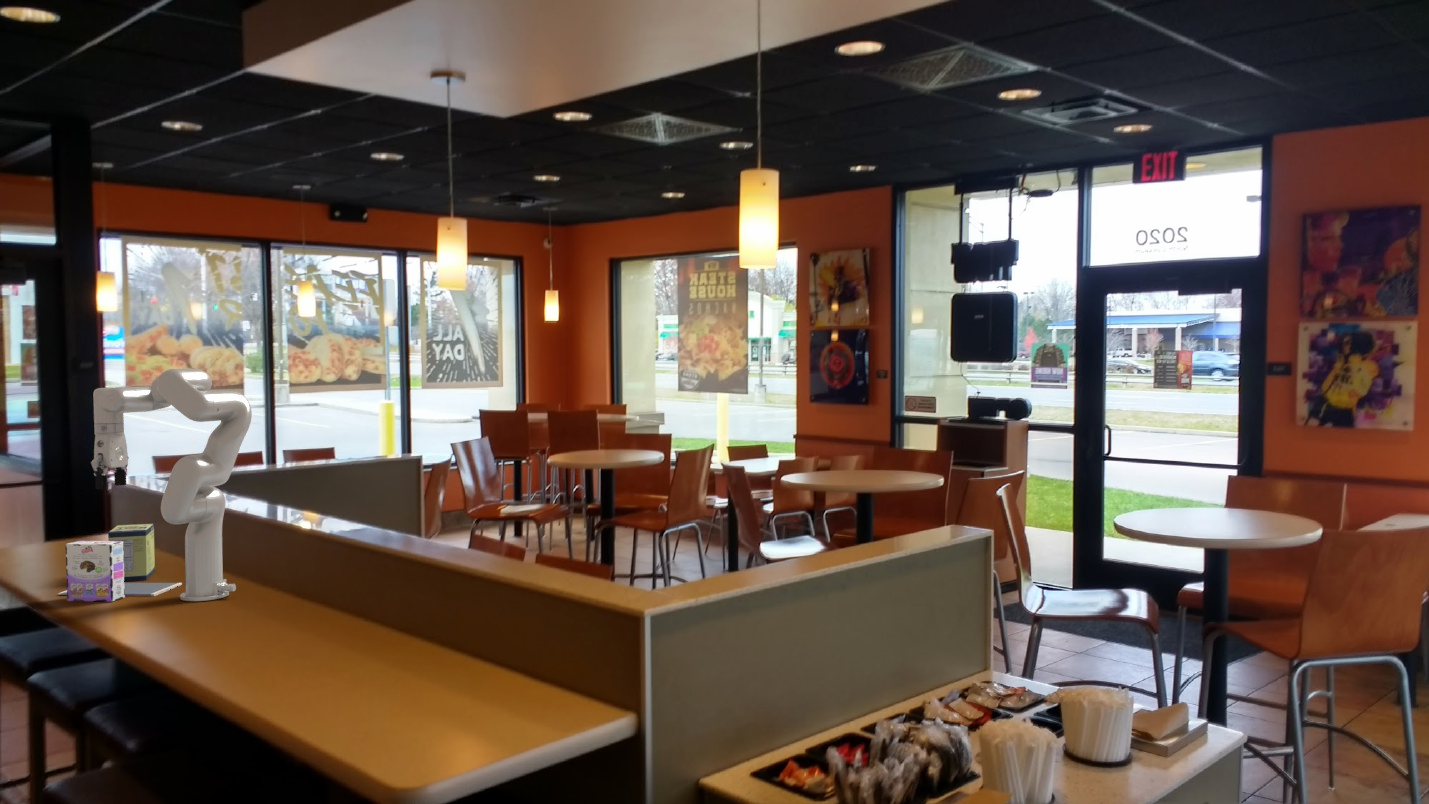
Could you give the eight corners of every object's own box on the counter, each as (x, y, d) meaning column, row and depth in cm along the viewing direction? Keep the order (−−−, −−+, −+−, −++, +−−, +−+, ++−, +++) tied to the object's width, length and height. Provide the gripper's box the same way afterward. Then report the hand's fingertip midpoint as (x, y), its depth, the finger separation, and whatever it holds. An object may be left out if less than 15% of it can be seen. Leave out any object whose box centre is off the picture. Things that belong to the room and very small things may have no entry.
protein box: (155, 570, 333) (154, 522, 333) (147, 580, 319) (146, 530, 318) (118, 573, 330) (117, 524, 329) (108, 583, 315) (107, 532, 315)
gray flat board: (182, 584, 312) (182, 582, 312) (153, 596, 297) (153, 594, 297) (90, 584, 313) (90, 582, 313) (57, 595, 298) (57, 593, 298)
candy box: (126, 597, 295) (124, 540, 295) (112, 602, 289) (110, 544, 289) (80, 596, 297) (79, 539, 296) (65, 601, 291) (64, 543, 290)
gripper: (105, 431, 298) (107, 490, 298) (138, 427, 315) (139, 483, 316) (78, 431, 298) (80, 490, 298) (113, 428, 315) (115, 484, 316)
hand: (111, 487), depth 307 cm, fingers open, 9 cm apart
